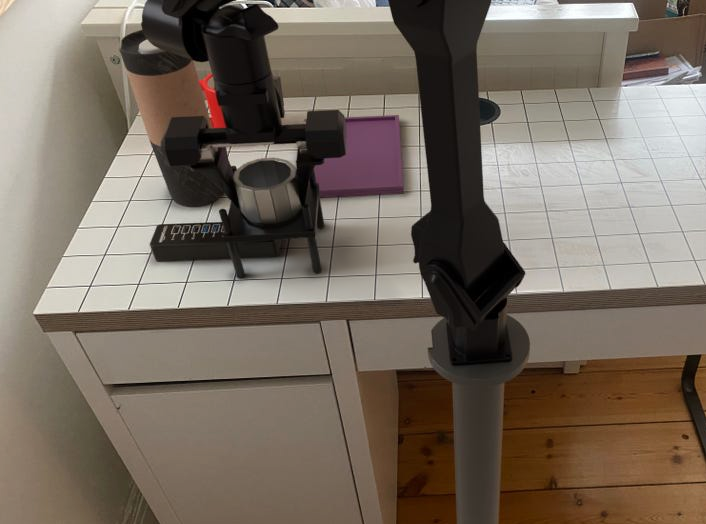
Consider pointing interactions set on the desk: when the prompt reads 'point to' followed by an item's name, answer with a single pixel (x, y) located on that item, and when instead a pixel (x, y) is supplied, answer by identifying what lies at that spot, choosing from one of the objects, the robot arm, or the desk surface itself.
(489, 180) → the desk surface
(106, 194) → the desk surface
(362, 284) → the desk surface
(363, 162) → the purple tray
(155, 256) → the multiport hub
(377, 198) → the desk surface
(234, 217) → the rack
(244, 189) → the bowl
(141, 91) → the travel mug
